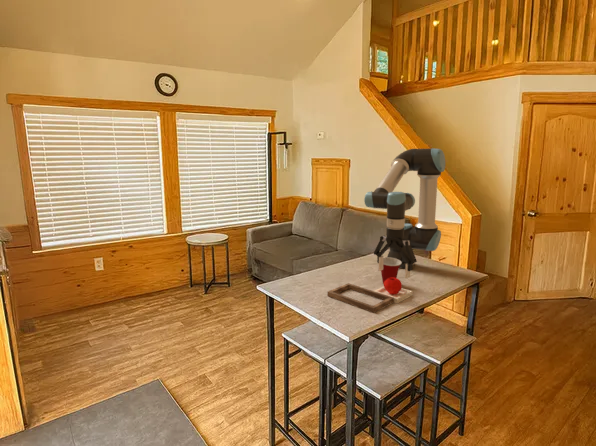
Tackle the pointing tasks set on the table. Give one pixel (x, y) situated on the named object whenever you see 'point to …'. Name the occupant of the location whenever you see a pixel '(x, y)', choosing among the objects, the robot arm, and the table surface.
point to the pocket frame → (357, 303)
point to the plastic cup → (390, 268)
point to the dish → (397, 297)
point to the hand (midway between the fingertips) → (393, 273)
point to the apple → (392, 285)
